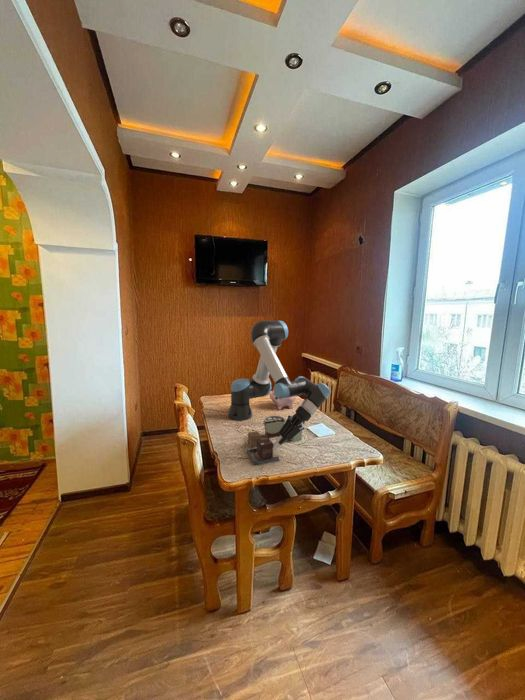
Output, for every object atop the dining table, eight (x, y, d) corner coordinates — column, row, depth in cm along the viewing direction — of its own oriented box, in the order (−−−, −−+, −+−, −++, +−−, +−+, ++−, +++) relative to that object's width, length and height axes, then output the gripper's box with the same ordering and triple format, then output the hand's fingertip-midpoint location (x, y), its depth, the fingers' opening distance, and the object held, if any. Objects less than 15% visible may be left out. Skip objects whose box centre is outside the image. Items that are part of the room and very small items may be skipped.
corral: (246, 452, 132) (246, 449, 132) (269, 448, 137) (269, 445, 136) (254, 465, 122) (254, 462, 121) (279, 460, 126) (279, 457, 126)
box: (267, 451, 134) (268, 437, 133) (273, 457, 129) (273, 442, 128) (256, 453, 132) (256, 439, 131) (261, 460, 126) (261, 445, 125)
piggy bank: (266, 403, 200) (267, 382, 197) (290, 402, 205) (290, 381, 202) (273, 411, 185) (273, 388, 183) (298, 409, 190) (299, 387, 188)
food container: (279, 431, 156) (280, 414, 155) (284, 435, 151) (285, 418, 149) (259, 434, 152) (260, 416, 150) (263, 439, 146) (264, 421, 145)
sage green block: (288, 437, 149) (289, 427, 148) (297, 436, 151) (297, 425, 150) (293, 441, 144) (293, 430, 144) (301, 440, 146) (302, 429, 145)
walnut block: (247, 443, 142) (248, 432, 141) (257, 441, 143) (257, 430, 142) (250, 447, 137) (251, 436, 136) (260, 446, 139) (260, 435, 138)
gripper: (317, 419, 129) (284, 459, 126) (303, 410, 141) (273, 445, 138) (308, 410, 127) (274, 450, 123) (295, 401, 139) (263, 437, 135)
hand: (273, 448), depth 130 cm, fingers closed
